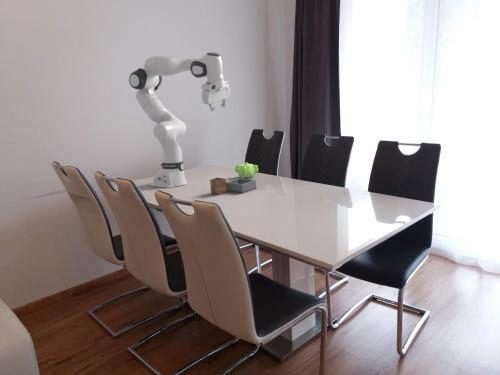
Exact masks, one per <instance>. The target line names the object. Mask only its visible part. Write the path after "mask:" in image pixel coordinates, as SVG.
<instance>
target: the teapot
mask: <svg viewBox="0 0 500 375" xmlns="http://www.w3.org/2000/svg"><path fill="white" fill-rule="evenodd" d="M234 172H235V173H237V175H238V178H243V179H245V178H247V179H251V180H252V178H253V177H254V176H255V175H256V173H258V172H259V168H258V165H256V164H255V165H254V164H253V163H248V162H244V163H242V164H240V165H237V164H236V165H235V170H234Z"/></svg>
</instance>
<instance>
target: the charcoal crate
mask: <svg viewBox="0 0 500 375" xmlns="http://www.w3.org/2000/svg"><path fill="white" fill-rule="evenodd" d="M254 190H257V180H256V179H252V178H251V179H248V178H244V179H243V178H242V177H238V178H235V179H231V180H229V181H226V192H231V193H237V194H245V193H249V192H251V191H254Z"/></svg>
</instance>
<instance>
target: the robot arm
mask: <svg viewBox="0 0 500 375" xmlns="http://www.w3.org/2000/svg"><path fill="white" fill-rule="evenodd" d="M223 70H224V68H223V61H222V57H221V55H220V54H219V53H217V52H211V51H210V52H207V53H205V55H204V56H202V57H200V58H196V59H195V58H180V57H174V56H166V55H154V56H149V57H147V58H146V59H145V61H144V67H142V68H141V67H139V68H137V69H136V70H135V71H132V72H131V73H130V75H129V77H128V82H129V85H130V86H131V88H133V89H135V90H137V91H136V93H135V98H136V100H137V102H138V104H139V105H140V107H141V109H143V111H144V113H145V114H146V115H147V117H148V118H149V119H150V120H151V121H152V122H153V123H155V125H154V127H153V130H152V131H153V135H154V137H155V138H156V139H157V140H158V142H159V144H160V145H161V150H162V154H163V162H162V163H160V167H161V168H160V170H159V171H158V172H156V173H155V174H154V176H153V182H151V183H150V185H149V186H150V187H157V188H167V189H168V188H173V187H174V188H175V187H181V186H184V185H185V186H186V184H188V181H187V178H186V175H185V167H184V166H185V165H184V160H183V150H182V148H181V146H179V144H178V142H177V139H178V138H180V137H182V136H183V135H185V134H186V132H187V124H186V123H185V122H184V121H182V120H181V119H179V118H178V117H176V116H175V115H173V113H171V111H169V110H168V109H167V108H166V107H165V105H164V104H162V102H161V101H160V99H159V98H158V97H157V95H156V94H155V91H157V90H159V89H158V88H159V87H160V86H161V84H162V81H163V77H170V76H174V75H177V74H180V73H183V72H184V73H185V72H188V71H190V73H191V74H192V76H193V77H195V78H199V79H200V78H204V77H206V82H204V83H202V85H201V90H202V91H201V100H202V103H203V105H208V107H209V108H210V111H211V112H214V111H215V107H214V106H213V105H214V103H217V102H220V101H222V102H221V104H220V105H221V108H225V107H226V103H227V99H229V98H231V95H232V94H231V89H230V85H229V82H228V81H226V80H225V79H224V75H223V74H224V73H223Z"/></svg>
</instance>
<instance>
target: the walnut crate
mask: <svg viewBox="0 0 500 375" xmlns="http://www.w3.org/2000/svg"><path fill="white" fill-rule="evenodd" d="M226 182H227V180H226V177H225V178H223V177H215V178H211V179H210V180H209V183H210V194H211V195H217V196H221V195H224V194H227V191H226Z"/></svg>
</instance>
